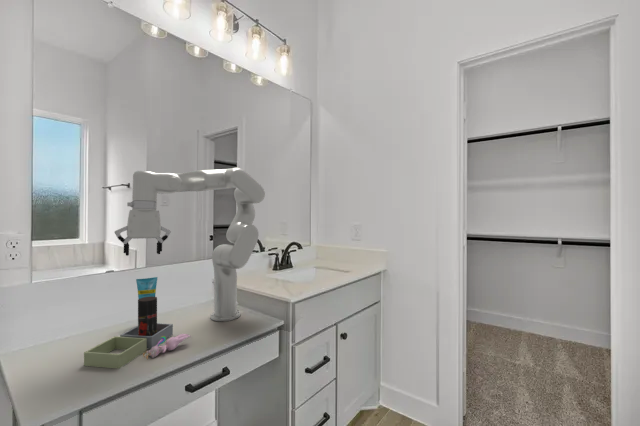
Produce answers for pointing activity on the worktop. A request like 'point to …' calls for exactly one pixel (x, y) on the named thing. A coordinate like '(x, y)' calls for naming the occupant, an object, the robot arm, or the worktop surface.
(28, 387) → the worktop surface
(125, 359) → the bin
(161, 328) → the bin
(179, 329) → the worktop surface
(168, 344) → the pink toy figurine
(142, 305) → the deodorant
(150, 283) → the tube
